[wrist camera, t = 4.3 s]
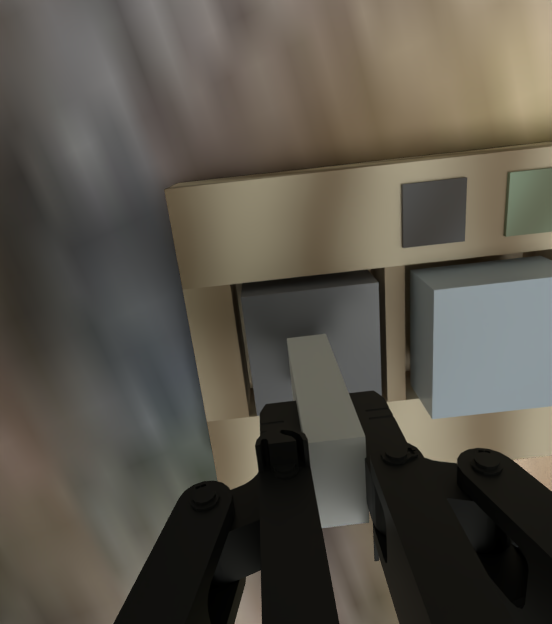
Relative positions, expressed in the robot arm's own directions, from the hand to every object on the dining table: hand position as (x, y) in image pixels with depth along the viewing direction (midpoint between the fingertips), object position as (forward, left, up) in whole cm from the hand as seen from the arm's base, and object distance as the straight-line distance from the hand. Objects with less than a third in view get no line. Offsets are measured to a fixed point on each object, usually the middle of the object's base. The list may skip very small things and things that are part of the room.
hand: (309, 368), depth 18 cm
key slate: (+7, 0, -2) cm, 8 cm away
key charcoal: (0, 0, -4) cm, 4 cm away
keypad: (+7, 0, -5) cm, 9 cm away
